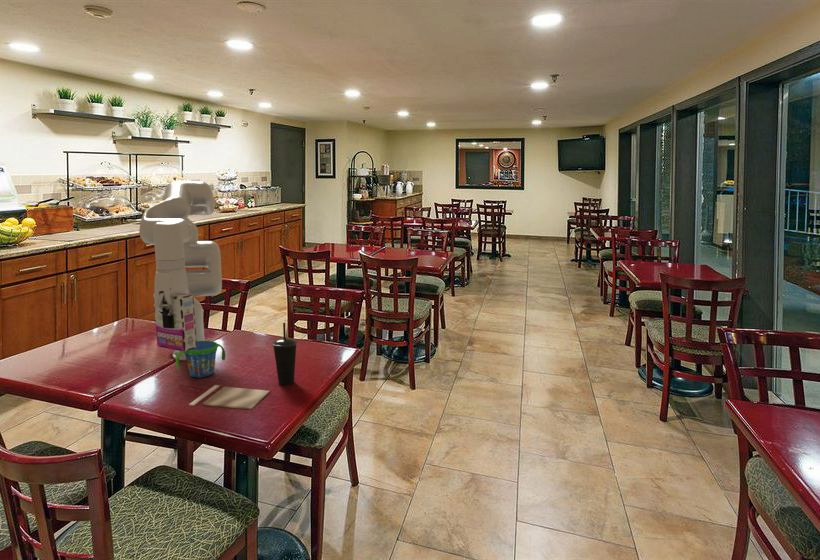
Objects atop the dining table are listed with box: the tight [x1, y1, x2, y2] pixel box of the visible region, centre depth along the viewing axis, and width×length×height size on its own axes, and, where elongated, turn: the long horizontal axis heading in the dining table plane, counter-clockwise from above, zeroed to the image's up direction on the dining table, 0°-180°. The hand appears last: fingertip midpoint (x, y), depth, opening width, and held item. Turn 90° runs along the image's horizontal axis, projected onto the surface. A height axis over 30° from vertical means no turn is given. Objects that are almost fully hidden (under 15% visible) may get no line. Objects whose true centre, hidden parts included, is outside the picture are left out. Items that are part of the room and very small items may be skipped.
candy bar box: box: [152, 293, 197, 352], centre depth 150 cm, size 11×5×16 cm, turn 68°
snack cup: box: [175, 340, 227, 379], centre depth 168 cm, size 16×10×10 cm
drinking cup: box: [272, 322, 298, 387], centre depth 161 cm, size 8×8×20 cm
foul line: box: [188, 384, 220, 406], centre depth 152 cm, size 2×14×1 cm, turn 171°
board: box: [202, 386, 271, 410], centre depth 151 cm, size 15×12×1 cm
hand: (175, 324), depth 150 cm, fingers closed on candy bar box, 5 cm apart
